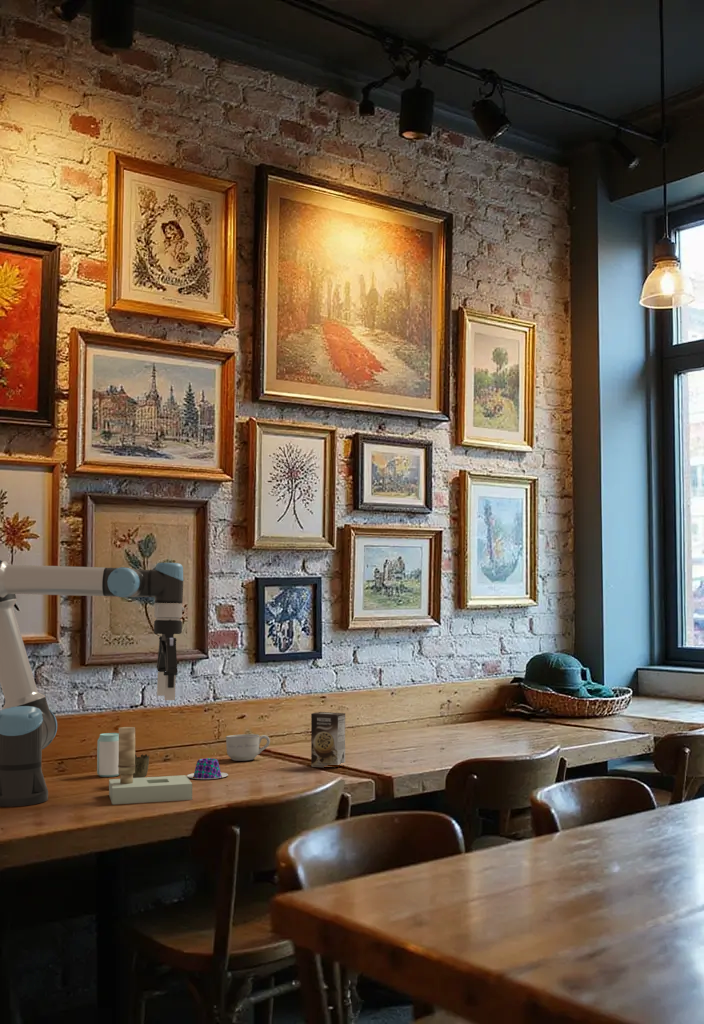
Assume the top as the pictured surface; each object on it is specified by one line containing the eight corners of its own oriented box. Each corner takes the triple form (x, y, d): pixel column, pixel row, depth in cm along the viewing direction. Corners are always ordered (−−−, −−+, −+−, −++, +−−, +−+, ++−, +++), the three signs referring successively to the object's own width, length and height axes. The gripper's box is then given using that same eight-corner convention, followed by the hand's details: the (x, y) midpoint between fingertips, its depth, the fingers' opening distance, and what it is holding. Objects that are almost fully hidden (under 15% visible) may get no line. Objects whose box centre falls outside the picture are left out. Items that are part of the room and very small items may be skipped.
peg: (118, 784, 272) (119, 729, 273) (117, 781, 276) (117, 727, 277) (135, 783, 273) (136, 728, 274) (134, 781, 277) (134, 726, 278)
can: (116, 772, 316) (117, 731, 317) (125, 775, 310) (125, 734, 311) (93, 775, 312) (94, 733, 313) (101, 778, 306) (102, 736, 307)
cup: (152, 782, 298) (152, 753, 298) (144, 787, 290) (145, 757, 291) (126, 782, 298) (126, 753, 299) (118, 787, 291) (118, 757, 292)
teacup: (223, 762, 333) (223, 736, 334) (228, 757, 344) (228, 732, 345) (267, 762, 333) (267, 736, 333) (271, 757, 344) (271, 732, 344)
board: (112, 804, 266) (112, 788, 267) (108, 794, 280) (109, 779, 280) (192, 799, 272) (192, 783, 272) (185, 790, 285) (185, 775, 286)
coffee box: (310, 767, 323) (310, 713, 324) (319, 764, 329) (318, 711, 330) (337, 768, 319) (337, 714, 321) (346, 765, 325) (345, 712, 327)
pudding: (236, 776, 309) (236, 757, 310) (212, 782, 299) (212, 763, 299) (203, 773, 315) (203, 755, 315) (178, 779, 304) (178, 761, 305)
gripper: (189, 620, 280) (187, 702, 278) (174, 618, 303) (172, 693, 302) (161, 620, 277) (158, 702, 276) (148, 618, 301) (145, 693, 299)
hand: (165, 697), depth 289 cm, fingers open, 13 cm apart
